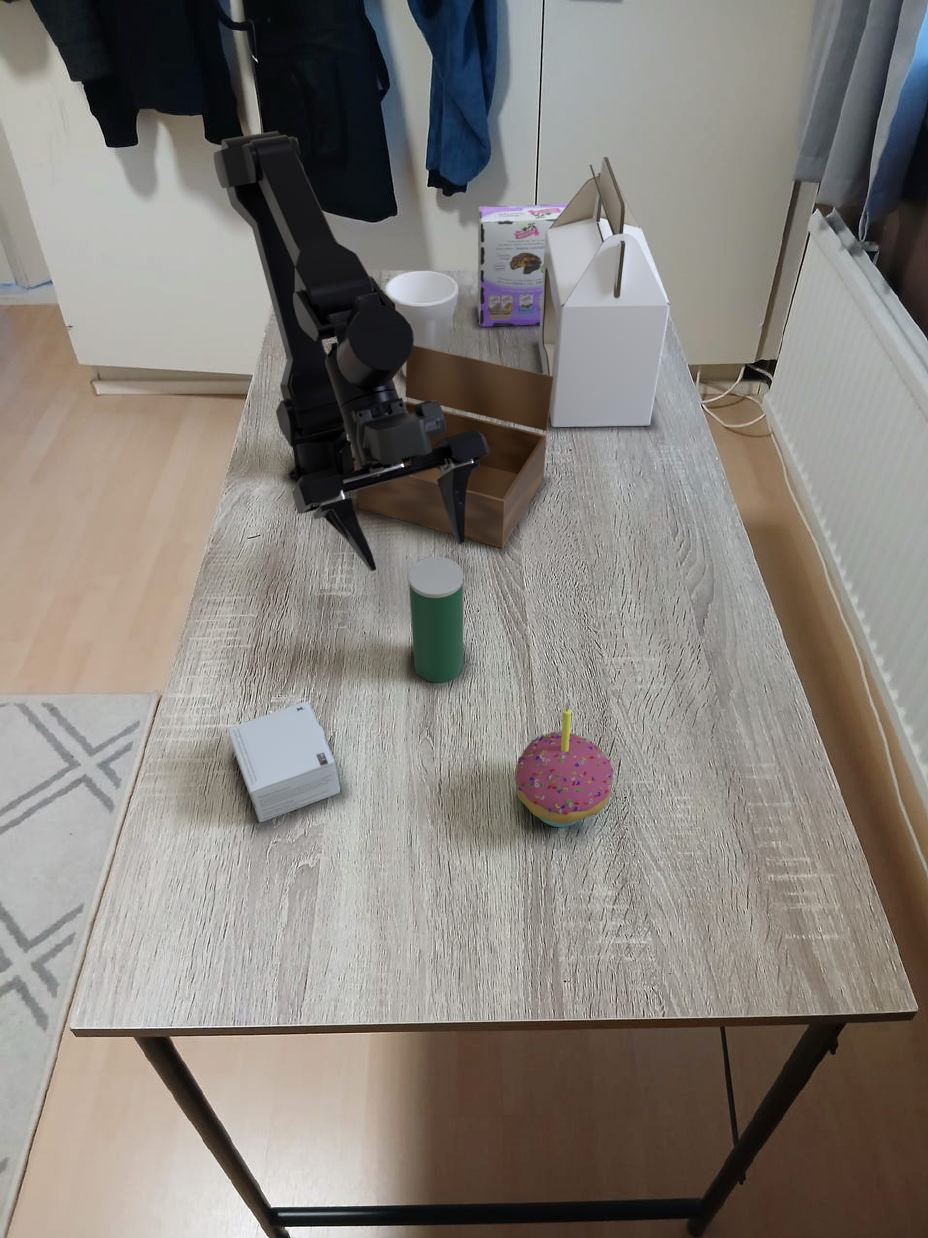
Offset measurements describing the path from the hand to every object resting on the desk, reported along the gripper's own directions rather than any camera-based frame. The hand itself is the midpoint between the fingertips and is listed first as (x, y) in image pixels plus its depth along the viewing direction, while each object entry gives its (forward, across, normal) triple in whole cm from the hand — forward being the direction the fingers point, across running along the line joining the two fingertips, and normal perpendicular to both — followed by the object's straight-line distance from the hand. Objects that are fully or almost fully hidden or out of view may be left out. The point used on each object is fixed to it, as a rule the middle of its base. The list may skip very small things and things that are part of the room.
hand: (418, 556), depth 90 cm
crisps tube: (+11, 0, +5) cm, 12 cm away
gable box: (-17, +41, +33) cm, 55 cm away
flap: (-18, +18, +18) cm, 31 cm away
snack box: (-7, +13, +22) cm, 27 cm away
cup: (-26, +21, +42) cm, 53 cm away
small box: (+16, -18, 0) cm, 24 cm away
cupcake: (+25, +3, -9) cm, 27 cm away
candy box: (-32, +41, +48) cm, 71 cm away
